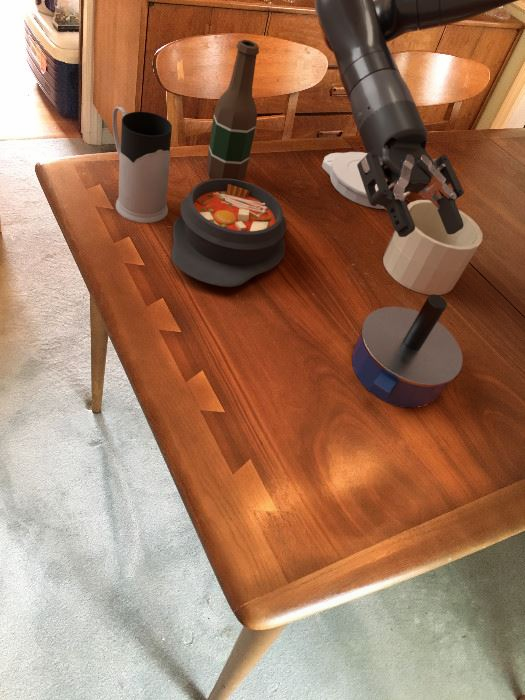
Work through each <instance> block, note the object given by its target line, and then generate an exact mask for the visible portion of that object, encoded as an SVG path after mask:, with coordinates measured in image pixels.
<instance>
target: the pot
mask: <svg viewBox="0 0 525 700" xmlns="http://www.w3.org/2000/svg"><path fill="white" fill-rule="evenodd" d="M407 207H408V209H409V212H410V214H411V217H412V219H413V222H414V224H415V230H414V231H413V232H412V233H410V234H409V235H408V236H406V237H399V235H398V233H397V232H396V230H395V229H394V231H393V233H392V235H391V238H390V240H389V242H388V244H387V246H386V249H385V250H384V254H383V256H382V262H383V266H384V268H385V270H386V272H387V273H388V275H389V276H390V277H391V278H392V279H393V280H395V281H396V282H397V283H398V284H400V285H402V286H403V287H405V288H406V289H409V290H411V291H413V292H415V293H419V294H423V295H427V296H429V295H432V294H435V295H439V296H441V295H445V294H448V293H449V292H451V291H452V290H453V289H454V288H455V286H456V284H457V283H458V281H459V280H460V278H461V276H462V275H463V273H464V272H465V270H466V269H467V267H468V265H469V264H470V262H471V261H472V259H473V257H474V256H475V254H476V252H477V251H478V249H479V247H480V245H481V244H482V242H483V232H482V229H481V228H480V226H479V224H478V223H476V221H475V220H474V219H473V218H472V217H471V216H469V215H468V214H466V213H465V212H464V211H462V210H460V209H458V210H459V214H460V215H461V218H462V220H463V224H464V226H463V228H462V229H461V230H459V231H458V232H456V233H455V234H447V232H446V230H445V227H444V225H443V222H442V220H441V218H440V215H439V213H438V208H437V207H436V206H435V205H434V204H433V203H432V202H431V201H430V200H429V199H417V200H414V201H410V202H409V203H408V204H407Z"/></svg>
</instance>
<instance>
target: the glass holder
mask: <svg viewBox="0 0 525 700" xmlns="http://www.w3.org/2000/svg"><path fill="white" fill-rule="evenodd" d="M118 111H120V113H121V114H122V118H121V129H120V130H121V132H120V134H121V135H120V137H119V132H118ZM112 132H113V138H114V139H113V140H114V143H115V144H114V145H115V149H116V152H117V155H118V157H119V159H118V160H119V161H118V162H119V165H118V167H119V168H118V197H117V200H116V201H115V209H116V211H117V213H118V214H119V215H120V216H122V217H123V218H124V219H126V220H128V221H132V222H135V223H140V224H152V223H157V222H160V221H161V220H163V219H165V218H166V217H167V215H168V213H169V208H168V204H167V196H168V186H169V175H170V167H171V166H170V165H171V141H172V133H173V125H172V123H171V122H170V121H169V120H168V119H167V118H165V117H164V116H162V115H159V114H157V113H154V112H149V111H132V112H127V111H126V110H125V108H124V107H122V106H116V107H114V108H113V109H112Z"/></svg>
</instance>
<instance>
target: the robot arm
mask: <svg viewBox="0 0 525 700" xmlns="http://www.w3.org/2000/svg"><path fill="white" fill-rule="evenodd" d="M518 1H520V0H314V11H315V15H316V19H317V22H318V26H319V29H320V32H321V36H322V40H323V42H324V44H325V46H326V48H327V49H328V50H329V51H331V52H332V53H333V55H334V58H335V61H336V66H337V71H338V74H339V79H340V81H341V84H342V87H343V90H344V92H345V95H346V97H347V100H348V102H349V106H350V109H351V115H352V118H353V121H354V123H355V126H356V129H357V131H358V134H359V137H360V139H361V141H362V144H363V147H364V150H365V151H366V152H365V153H367V155H366V156H365V157H364V158H363V159H362V160H361V161H360V162H359V163H358V164H357V167H358V170H359V173H360V176H361V179H362V182H363V185H364V188H365V191H366V194H367V197H368V200H369V203H370V204H371V205H372V206H376V205H377V204H378V205H381V206H382V207H383V209H382V210H384V211H386V212H387V214H388V216H389V219H390V222H391V224H392V226H393V229H394V231H395V230H396V232H397V233H398V235H399V237H406V236H408V235H409V234H410V233H412V232H413V231H414V230H415V224H414V222H413V219H412V217H411V214H410V212H409V209H408V207H407V205H408V204H407V202H406V200H404V201H401V200H402V199H403V195H404V193H407V192H410V193H413V194H418V195H419V196H420V197H421V198H422V200H430V201H431V202H432V203H433V204H434V205H435V206H436V207H437V208H438V213H439V215H440V218H441V220H442V222H443V225H444V227H445V230H446V232H447V234H455V233H456V232H458V231H459V230H461V229H462V228H463V226H464V224H463V220H462V218H461V215H460V214H459V210H460V209H458V206H457V203H456V200H458V199H459V198H461V197H462V196H463V195H464V194H465V190H464V189H463V187H462V184H461V182H460V180H459V178H458V176H457V173H456V171H455V170H454V167H453V165H452V163H451V161H450V159H449V157H448V156H447V155H446V154H441V155H440V156H439V157H438V158H432V157H431V156H430V154H429V153H428V151H427V150H426V146H427V142H428V138H429V134H428V130H427V128H426V125H425V123H424V121H423V119H422V116H421V113H420V111H419V109H418V107H417V105H416V104H417V103H416V102H415V100H414V97H413V95H412V92H411V90H410V88H409V86H408V84H407V83H406V81H405V80H404V78H403V76H402V74H401V71H400V69H399V67H398V64H397V62H396V60H395V57H394V55H393V53H392V51H391V49H390V48H389V46H388V44H387V43H389V42H391V41H394V40H395V39H397V38H399V37H401V36H403V35H405V34H408V33H413V32H418V31H424V30H428V29H435V28H439V27H444V26H445V27H446V26H448V25H449V26H450V25H452V24H453V25H454V24H456V23H460V22H463V21H467V20H471V19H473V18H476V17H478V16H481V15H484V14H486V13H489V12H491V11H494V10H496V9H499V8H501V7H504V6H507V5H510V4H512V3H515V2H518ZM432 180H433V181H434V183H433V184H431V181H432ZM376 184H377V186H378V189H379V190H378V191H377V192H376V189H375V185H376ZM430 184H431V185H430ZM429 185H430V186H429ZM449 185H450V186H451V187H450V186H449ZM428 186H429V187H428ZM437 191H438V192H439V194H440V196H441V197H440V196H439V195H438V194H437V193H436V192H437Z"/></svg>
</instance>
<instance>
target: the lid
mask: <svg viewBox="0 0 525 700" xmlns="http://www.w3.org/2000/svg"><path fill="white" fill-rule="evenodd" d="M366 155H367V152H363V151H348V152H347V151H346V152H333V153H329V154H327V155H325V156H324V158H323V161H322V164H321V168H322V170H323V171H325V173H327V175H329V176H330V177H329V178H330V182H331V184H332V185H333V187H334V189H335V190H336V191H337V192H338V193H339V194H341V195H342V197H344V198H346V199H347V200H350V201H351V202H353V203H356V204H358V205H361V206H363V207H365V208H366V207H367V208H371V209H378V210H384V209H383V207H382V206H381V205H378V204H377V205H376V206H372V205H371V204H370V203H369V200H368V197H367V194H366V191H365V188H364V185H363V182H362V179H361V176H360V173H359V170H358V167H357V164H358V163H359V162H360V161H361V160H362V159H363V158H364V157H365V156H366ZM375 189H376V192H377V191H378V190H379V189H378V186H377V184H376V185H375ZM410 194H411V192H407V193H404V195H403V199H402V200H401V201H406V197H407V196H409V195H410Z"/></svg>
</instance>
